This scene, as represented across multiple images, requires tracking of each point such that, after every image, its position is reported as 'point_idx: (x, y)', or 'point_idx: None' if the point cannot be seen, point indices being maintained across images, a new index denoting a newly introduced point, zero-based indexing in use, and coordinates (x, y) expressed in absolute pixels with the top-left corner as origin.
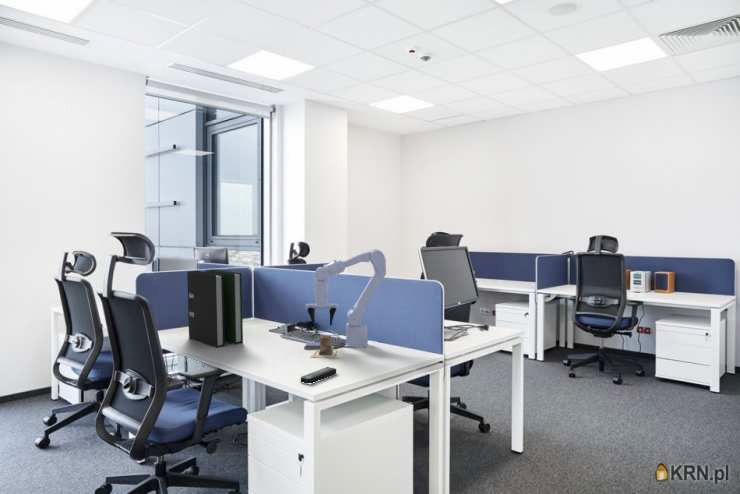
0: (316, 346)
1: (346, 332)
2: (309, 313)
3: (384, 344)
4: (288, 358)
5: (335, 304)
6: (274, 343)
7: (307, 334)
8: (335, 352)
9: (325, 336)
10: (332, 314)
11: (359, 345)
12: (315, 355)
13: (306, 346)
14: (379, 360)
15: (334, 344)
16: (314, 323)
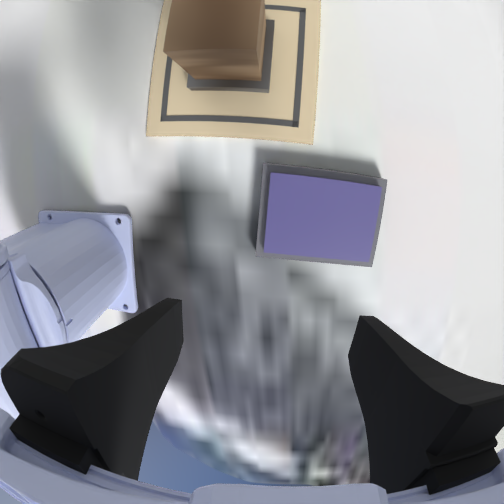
0: (307, 176)
1: (86, 282)
2: (474, 380)
3: None
4: (427, 11)
5: (1, 482)
6: (492, 314)
7: (342, 446)
8: (174, 76)
9: (215, 16)
10: (79, 348)
11: (62, 223)
12: (294, 16)
13: (374, 186)
14: (20, 16)
15: (199, 286)
16: (355, 347)
